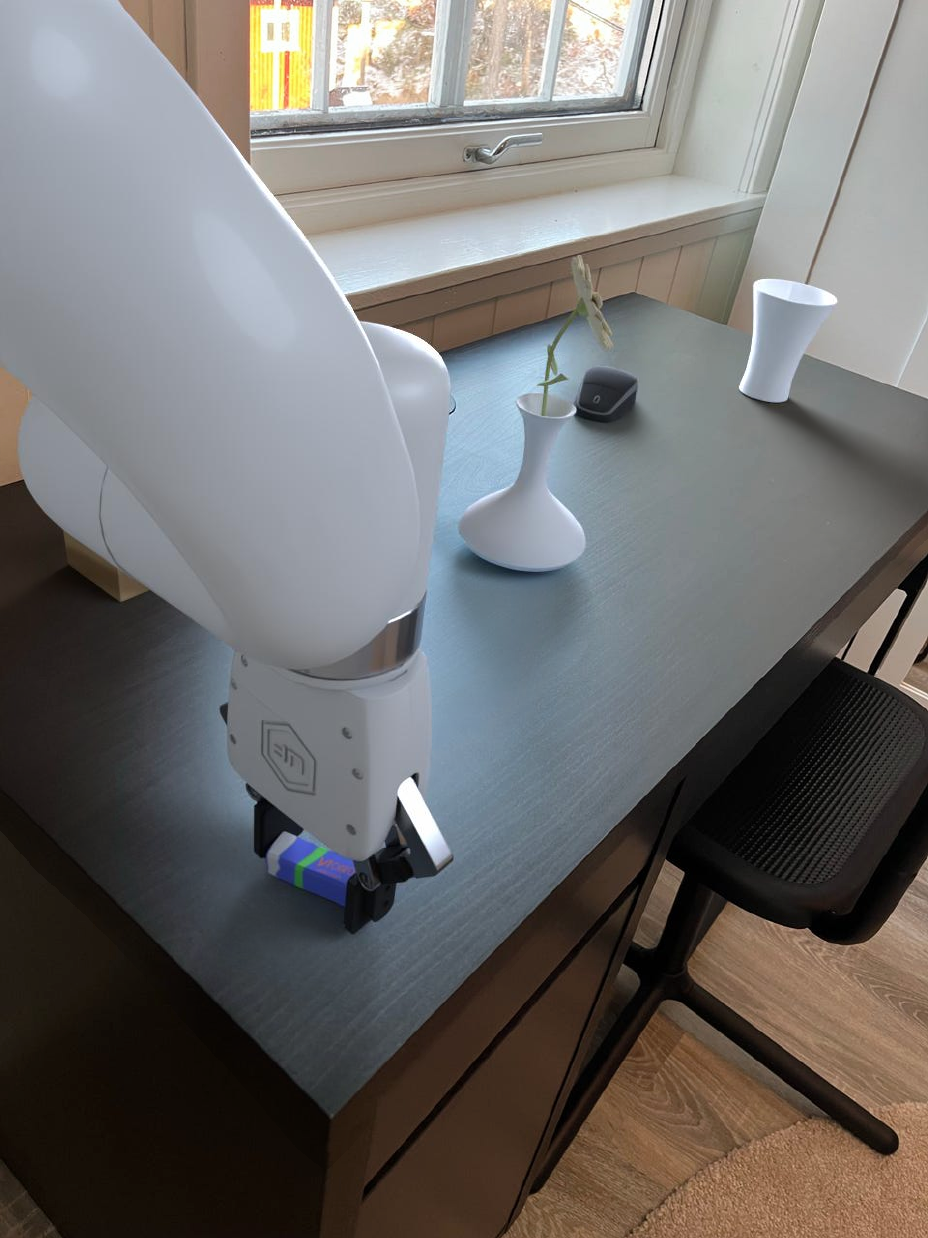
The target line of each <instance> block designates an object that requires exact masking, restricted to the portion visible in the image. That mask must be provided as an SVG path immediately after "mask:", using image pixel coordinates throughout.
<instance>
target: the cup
mask: <svg viewBox="0 0 928 1238" xmlns="http://www.w3.org/2000/svg"><path fill="white" fill-rule="evenodd" d="M838 301H839V300H838V299H837V297H836V296H835V295H833V294H832V293H831V292H829V291H826V290H824V289H821V288H818V287H816V286H812V285H809V284H805V283H802V282H797V281H793V280H785V279H775V278H764V279H758V280H756V281H754V283H753V331H752V332H753V333H752V340H751V341H752V342H751V349H750V353H749V357H748V362H747V365H746V370H745V371H744V374H743V377H742V379H741V381H740V384H739V386H738V388H739V391H740V392H741V393H743V394H744V395H746V396H748V397H750V398H753V399H756V400H758V401H762V402H769V403H783V402H786V401H787V400H788V399H789V398H788V397H789V395H790V391H791V386H792V381H793V379H794V376H795V374H796V372H797V369H798V366H799V364H800V362H801V359H802V358H803V356H804V354H805V352H806V350H807V348H808V346H809V345H810V343H811V341H812V340H813V339H814V337H815V336H816V334H817V333H818V331H819V330H820V328H821V327H822V325H823V324H824V322H825V321H826V320H827V318H828V317H829V316H830V314H831V313H832V311H833V310H834V309H835V307H836V306H837V304H838Z"/></svg>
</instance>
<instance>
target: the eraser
mask: <svg viewBox="0 0 928 1238" xmlns="http://www.w3.org/2000/svg"><path fill="white" fill-rule="evenodd" d="M265 863H266V871H267V873H268V874H269V875H272V876H273V877H275V878H278V879H280V880H282V881H284V882H287V883H288V884H291V885H292V886H295V887H297V888H300V889H303V890H305V891H307V892H310V893H312V894H315V895H317V896H319V897H322V898H325V899H327V900H330V901H331V902H334V903H335V904H338V905H340V906H342V907H344V908H345V899H346V887H347V881H348V879H349V878H350V877H351V876H352V875H353V874H354V873H356V871H355V867H354V864H353V860H351V859H348V858H345V857H343V856H341V855H339V854H337V853H336V852H334V851H333V850H331V849H329V848H326V847H323V846H320V845H318V844H316V843H315V844H314V843H312V842H310V841H307V840H305V839H303V838H302V837H299V836H294V835H292V834H290V833H288V832H282V834H281V835H280V836H279V837H278V838H277V839H276V841H275V842H274V843H273V844H272V845H271V847H270V848H269V849H268V852H267V854H266V858H265Z"/></svg>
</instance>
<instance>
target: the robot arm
mask: <svg viewBox="0 0 928 1238" xmlns="http://www.w3.org/2000/svg"><path fill="white" fill-rule="evenodd" d="M0 367H1V368H3V369H4V370H5V371H6V372H8V373H9V374H10V375H11V376H13V377H14V379H16V380H17V381H18V382H19V383H20V384H21V385H22V386H23V387H25V388H26V389H27V390H28V391H29V392H30V393H31V394H32V397H31V398H30V399H29V401H28V403H27V406H26V407H25V409H24V412H23V414H22V416H21V419H20V423H19V427H18V430H17V441H16V445H17V446H16V450H17V459H18V464H19V465H18V466H19V469H20V473H21V475H22V478H23V481H24V483H25V485H26V488H27V490H28V491H29V493H30V495H31V496H32V499H33V500H34V501H35V503H36V504H37V505H38V506H39V508H40V509H41V510H42V511H43V512H44V513H45V515H46V516H48V517H49V518H50V519H51V521H53V522H54V523H55V524H56V525H57V526H58V527H59V528H61V530H62V531H63V530H64V531H66V532H67V533H68V534H69V535H71V536H72V537H74V538H75V539H77V540H78V541H80V542H81V543H82V544H84V545H85V546H87V547H88V548H89V549H91V550H92V551H94V552H95V553H96V554H98V555H99V556H101V557H102V558H104V559H105V560H106V561H108V562H109V563H111V564H112V565H113V566H115V567H116V568H118V569H119V570H120V571H122V572H123V573H125V574H126V575H127V576H129V577H130V578H132V579H134V580H136V581H138V582H140V583H141V584H143V585H144V586H146V587H147V588H148V589H150V590H149V591H151V592H152V593H154V594H155V595H157V596H158V597H160V598H161V599H163V600H164V601H165V602H167V603H168V604H170V606H172V607H174V608H176V609H177V610H179V611H180V612H181V613H183V614H184V615H186V616H187V617H188V618H190V619H191V620H193V621H194V622H195V623H197V624H198V625H199V626H200V627H202V628H203V629H205V630H206V631H208V632H209V633H210V634H212V635H213V636H214V637H216V638H217V639H218V640H220V641H221V642H223V643H224V644H226V645H227V646H229V647H230V648H231V649H233V655H232V662H231V669H230V677H229V686H228V697H227V701H226V702H224V703H223V704H221V705H220V706H219V714H220V715H221V718H222V719H223V722H224V723H225V726H226V747H227V756H228V761H229V763H230V765H231V767H232V769H233V770H234V771H235V773H236V774H237V775H238V776H239V778H241V780H243V781H244V782H245V784H244V785H245V791H246V792H247V794H248V796H249V797H250V798H251V799H252V800H254V801H255V802H256V803H255V804H254V805H253V853H254V854H255V855H256V856H257V857H259V858H260V859H266V854H267V852H268V849H269V848H270V847H271V845H272V844H273V843H274V842H275V841H276V839H277V838H278V837H279V836H280V835H281V834H282V832H288V833H290V834H292V835H294V836H297V837H299V836H300V835H301V834H303V832H304V830H305V831H306V832H307V833H308V834H310V835H311V836H312V837H313V838H315V839H316V840H317V841H319V843H322V844H323V845H324V846H325V847H327V849H329V850H330V851H333V852H336V853H337V854H339V855H341V856H343V857H345V858H348V859H351V860H353V864H354V867H355V871H356V873H354V874H353V875H352V876H351V877H350V878H349V879H348V881H347V887H346V899H345V907H344V912H343V925H344V929H345V930H346V931H347V932H349V933H350V934H351V935H355V934H356V933H358V932H359V931H360V930H361V929H362V928H364V927H365V926H366V925H367V924H368V923H370V922H371V921H372V922H373V923H377V922H379V921H381V920H382V919H383V918H384V917H385V916H386V915H387V914H388V913H389V912H390V911H391V909H392V908H393V907H394V906H393V905H395V900H396V899H395V897H396V890H397V884H402V883H406V882H407V881H409V880H410V879H416V880H417V879H425V878H434V877H436V876H437V875H439V874H441V872H442V871H444V870H445V868H447V867H448V866H449V865H450V864H451V863H453V862H454V860H455V859H454V853H453V851H452V850H451V848H450V846H449V844H448V842H447V840H446V838H445V836H444V834H443V833H442V831H441V829H440V827H439V825H438V823H437V822H436V819H435V817H434V816H433V814H432V812H431V810H430V809H429V807H428V804H427V803H426V800H427V799H426V798H427V793H428V788H429V779H430V770H431V759H432V741H433V709H432V705H433V703H432V690H431V677H430V669H429V662H428V661H429V660H428V657H427V655H425V653H424V652H423V651H422V650H421V640H422V634H423V626H424V618H425V611H426V610H425V609H426V602H427V594H428V584H429V577H430V570H431V561H432V560H431V559H432V555H433V554H432V553H433V546H434V538H435V531H436V530H435V529H436V523H437V515H438V514H437V513H438V507H439V498H440V490H441V483H442V474H443V468H444V467H443V466H444V459H445V451H446V444H447V435H448V426H449V418H450V411H451V397H452V396H451V395H452V387H451V378H450V374H449V371H448V368H447V366H446V363H445V362H444V360H443V358H442V356H441V355H440V354H439V352H437V351H436V350H435V348H433V347H432V346H431V345H430V344H428V342H426V341H425V340H423V339H421V338H420V337H418V336H416V335H413V334H412V333H409V332H406V331H404V330H401V329H397V328H395V327H392V326H388V325H384V324H379V323H374V322H369V321H363V320H359V319H358V317H357V315H356V314H355V312H354V310H353V308H352V306H351V304H350V302H349V301H348V299H347V298H346V296H345V295H344V293H343V291H342V290H341V289H340V287H339V285H338V283H337V282H336V280H335V278H334V277H333V276H332V274H331V272H330V271H329V269H328V267H327V266H326V265H325V263H324V262H323V260H322V259H321V257H320V256H319V255H318V254H317V252H316V251H315V249H314V248H313V246H312V245H311V243H310V242H309V240H308V239H307V238H306V236H305V235H304V234H303V232H302V231H301V230H300V228H299V227H298V226H297V225H296V223H295V222H294V220H292V219H291V216H289V214H288V213H287V212H286V210H285V208H283V206H282V205H281V203H280V202H279V201H278V200H277V198H276V197H275V196H274V195H273V193H272V192H271V191H270V190H269V189H268V187H267V186H266V185H265V184H264V182H263V181H262V180H261V179H260V177H259V175H258V174H257V173H256V172H255V171H254V169H253V168H252V167H251V166H250V164H249V163H248V162H247V161H246V159H245V158H244V156H243V155H242V154H241V152H240V150H239V149H238V147H236V146H235V144H234V143H233V141H232V140H231V139H230V138H229V136H228V135H227V134H226V132H225V131H224V130H223V129H222V127H221V126H220V124H219V123H218V122H217V121H216V119H215V117H213V115H212V114H211V113H210V111H209V110H208V109H207V107H206V105H205V104H204V103H203V102H202V100H201V99H200V98H199V96H198V95H197V94H196V92H195V91H194V90H193V89H192V87H191V86H190V85H189V84H188V82H187V81H186V80H185V79H184V78H183V76H182V75H181V74H180V72H179V71H178V70H177V69H176V68H175V67H174V65H173V64H172V63H171V62H170V61H169V59H168V58H167V57H166V56H165V55H164V54H163V53H162V51H161V50H160V49H159V48H158V46H157V45H156V44H155V43H154V42H153V40H152V39H151V38H150V37H149V36H148V35H147V33H146V32H145V31H144V30H143V28H142V27H140V25H139V24H138V23H137V22H136V20H135V19H134V18H133V17H132V15H130V13H128V12H127V11H126V10H125V8H124V7H123V5H122V4H121V2H120V1H119V0H0ZM383 845H385V847H383Z"/></svg>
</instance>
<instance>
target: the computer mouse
mask: <svg viewBox="0 0 928 1238" xmlns="http://www.w3.org/2000/svg"><path fill="white" fill-rule="evenodd" d="M638 388H639V385H638V377H637V376H635V375H634V374H633V373H631V372H629V371H626V370H623V369H621V368H617V367H614V366H608V365H593V366H591V367H589V368H587V369H586V370H585V372H584V374H583V376H582V377H581V379H580V385H579V387H578V391H577V392H576V395H575V397H574V400H573V405H574V406H575V408H576V413H575V415H577V416H581V417H583V418H586V419H589V420H593V421H597V422H602V423H603V422H604V423H609V422H613V421H615V420H617V419H619V418H621V417H623V416H624V415H626V414H627V413H628V412H629V411H631V410H632V409H633V408H634V406H635V404H636V400H637V394H638Z"/></svg>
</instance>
